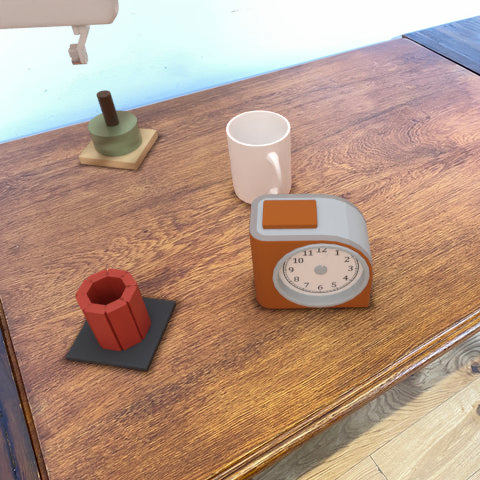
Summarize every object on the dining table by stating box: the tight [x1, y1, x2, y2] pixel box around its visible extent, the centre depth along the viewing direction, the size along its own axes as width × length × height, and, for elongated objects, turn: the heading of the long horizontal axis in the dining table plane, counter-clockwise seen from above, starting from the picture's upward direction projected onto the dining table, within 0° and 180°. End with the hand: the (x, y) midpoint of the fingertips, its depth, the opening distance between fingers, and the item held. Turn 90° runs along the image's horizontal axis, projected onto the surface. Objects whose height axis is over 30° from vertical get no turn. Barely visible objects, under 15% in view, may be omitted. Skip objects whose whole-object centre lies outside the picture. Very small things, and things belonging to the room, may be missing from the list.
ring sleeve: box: [74, 267, 151, 351], centre depth 61 cm, size 6×6×8 cm
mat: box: [65, 296, 177, 372], centre depth 64 cm, size 10×10×1 cm
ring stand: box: [78, 89, 159, 171], centre depth 86 cm, size 10×10×11 cm
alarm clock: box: [248, 193, 374, 310], centre depth 65 cm, size 15×8×14 cm, turn 92°
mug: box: [225, 110, 293, 205], centre depth 79 cm, size 10×12×12 cm
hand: (36, 65), depth 57 cm, fingers open, 8 cm apart
